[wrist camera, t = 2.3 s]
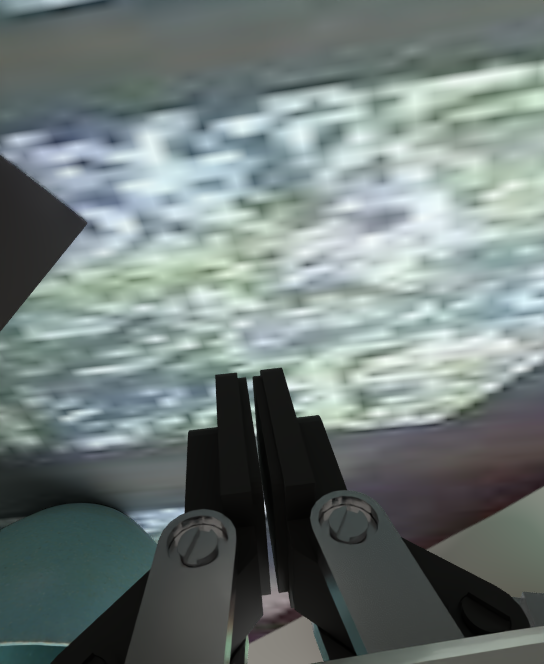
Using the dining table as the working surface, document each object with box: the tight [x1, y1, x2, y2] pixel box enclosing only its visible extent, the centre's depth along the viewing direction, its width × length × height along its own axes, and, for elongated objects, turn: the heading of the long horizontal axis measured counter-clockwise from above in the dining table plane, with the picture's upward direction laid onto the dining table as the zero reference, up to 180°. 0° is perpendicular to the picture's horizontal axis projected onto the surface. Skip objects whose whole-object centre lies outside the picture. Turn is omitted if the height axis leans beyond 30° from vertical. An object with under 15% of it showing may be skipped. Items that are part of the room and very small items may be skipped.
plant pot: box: [0, 503, 157, 664], centre depth 29 cm, size 18×18×12 cm
